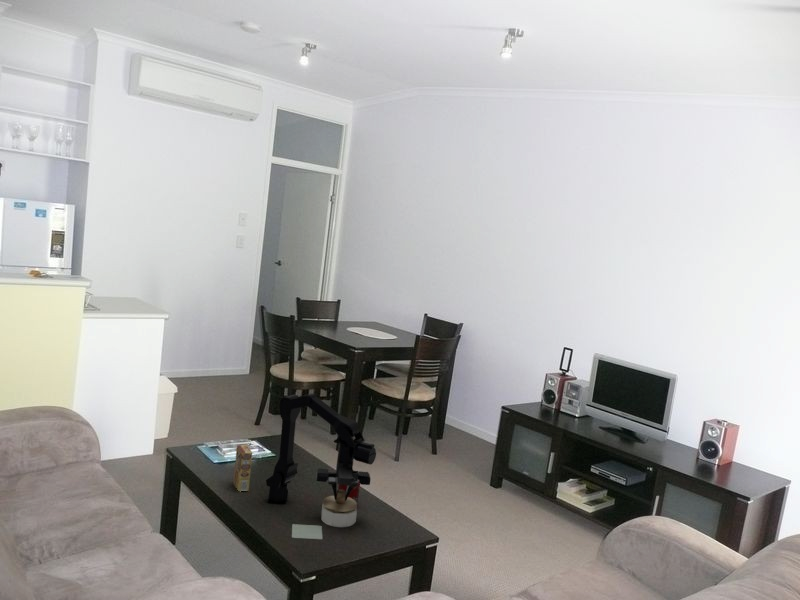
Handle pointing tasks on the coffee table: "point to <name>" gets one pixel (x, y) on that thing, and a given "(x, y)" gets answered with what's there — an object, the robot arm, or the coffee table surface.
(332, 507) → the lid
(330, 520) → the bowl
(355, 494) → the canned food
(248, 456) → the candy box
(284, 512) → the coffee table surface
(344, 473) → the robot arm
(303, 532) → the mat
